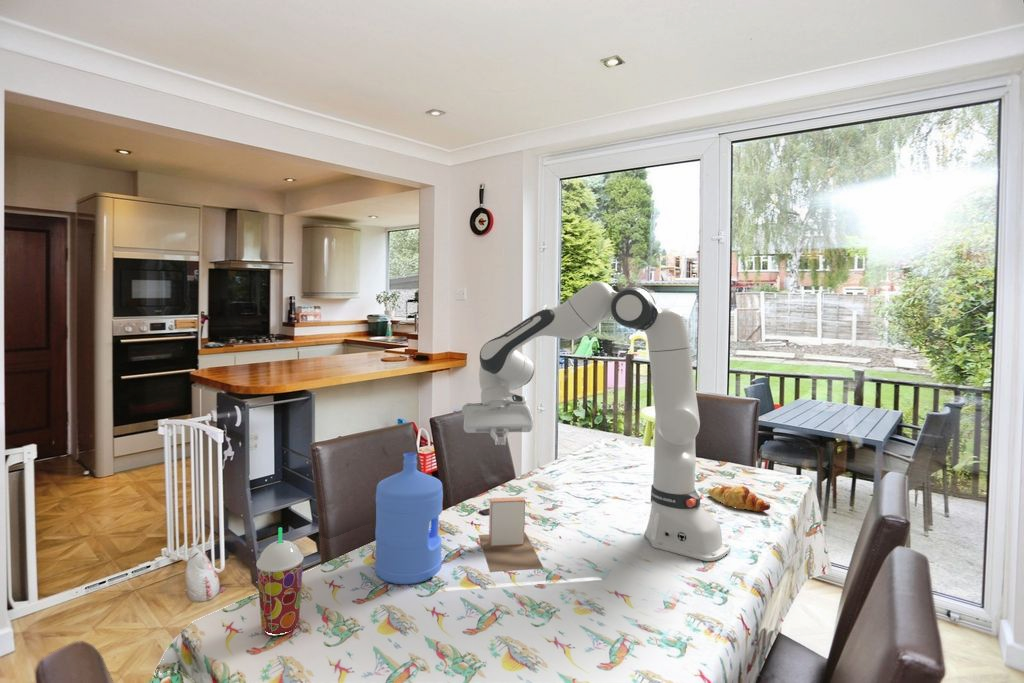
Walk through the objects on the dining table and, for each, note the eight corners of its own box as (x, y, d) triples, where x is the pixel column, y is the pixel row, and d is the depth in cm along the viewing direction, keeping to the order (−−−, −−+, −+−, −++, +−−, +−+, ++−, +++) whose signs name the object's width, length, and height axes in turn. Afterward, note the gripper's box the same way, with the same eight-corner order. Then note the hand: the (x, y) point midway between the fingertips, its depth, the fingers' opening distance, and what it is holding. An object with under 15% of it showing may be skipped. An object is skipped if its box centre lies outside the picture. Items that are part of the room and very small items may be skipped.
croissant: (703, 507, 189) (697, 489, 186) (716, 488, 195) (711, 470, 192) (765, 526, 173) (761, 506, 170) (778, 504, 179) (774, 485, 176)
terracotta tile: (488, 542, 147) (489, 498, 146) (522, 540, 148) (523, 496, 148) (490, 547, 144) (491, 501, 143) (524, 545, 146) (525, 500, 145)
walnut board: (478, 537, 152) (478, 534, 152) (525, 535, 154) (525, 532, 154) (490, 575, 131) (490, 571, 131) (543, 571, 133) (543, 568, 133)
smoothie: (266, 616, 112) (265, 519, 110) (308, 615, 112) (308, 519, 111) (249, 642, 103) (249, 537, 102) (296, 641, 104) (296, 536, 103)
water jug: (384, 592, 122) (386, 467, 120) (368, 561, 136) (369, 449, 134) (451, 577, 129) (453, 459, 128) (429, 550, 143) (430, 443, 141)
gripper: (462, 397, 162) (465, 438, 153) (531, 397, 165) (537, 437, 157) (460, 409, 166) (462, 450, 157) (527, 409, 170) (533, 449, 161)
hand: (500, 444), depth 157 cm, fingers closed
